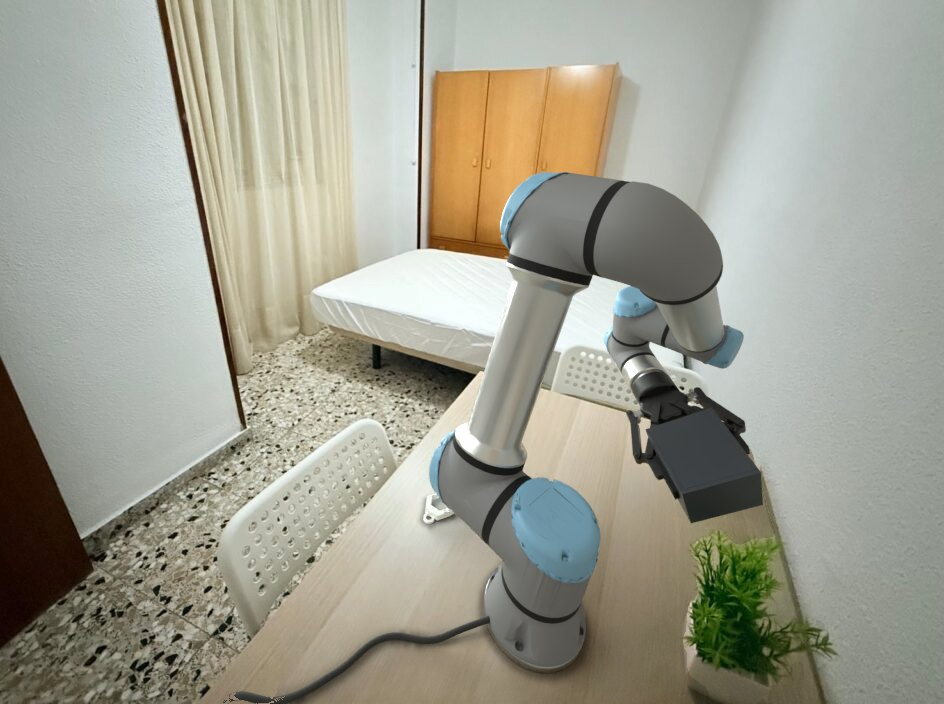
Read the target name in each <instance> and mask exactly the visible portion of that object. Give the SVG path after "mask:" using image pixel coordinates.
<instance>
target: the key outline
mask: <svg viewBox="0 0 944 704" xmlns="http://www.w3.org/2000/svg"><path fill="white" fill-rule="evenodd" d="M438 499H440V497H439V496H438V495H437V494H436V493H435V492H434V493H430V494H428V495H427V496H426V501H425V507H424V514H423V516H422V517H423V518H422V520H423V522H424V523H425V524H427V525H431V524H433V523H434V522H435V521H440V520H443V519H446V518H448V517H451V516H452V515H454V514H455V513H454V512H453V511H452V510H451V509H449V508H448V507H446V508H444V509H440V510H439V509H438V508H436V507H435V506H433V505H432V502H433V501H434V500H438ZM455 515H456V514H455ZM428 517H430V518H431V519H427V518H428Z"/></svg>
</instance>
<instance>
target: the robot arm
mask: <svg viewBox="0 0 944 704" xmlns="http://www.w3.org/2000/svg"><path fill="white" fill-rule="evenodd" d="M499 233H501V235H500V239H501V242H502V244H503V245H504V247H505V248H506V249H507V250H508V251H509V253H508V256H507V260H506V263H505V265H506V267H507V269H508V270H509V272H510V274H511V276H512V280H511V284H510V287H509V289H508V293H507V297H506V300H505V303H504V306H503V310H502V313H501V317H500V319H499V322H498V326H497V328H496V332H495V334H494V335H495V336H494V338H493V342H492V345H491V347H490V352H489V355H488V358H487V362H486V364H485V368H484V371H483V374H482V377H481V380H480V384H479V387H478V390H477V393H476V396H475V400H474V403H473V407H472V409H471V413H470V416H469V419H468V421H466V422H463V423H461V424H459V425H458V426H457V428H456V429H454V430H451V431H450V432H449V433H447V434H446V435H445V436H444V437H443V438H442V439H441V440H440V445H439V446H436V448H435V449H434V451H433V453H432V456H431V459H430V462H429V467H428V479H429V483H430V484H429V485H430V487H431V488H432V490H433V492H434V493H436V494H437V495H438V496H439V497H440V498H439V499H440V501H441V502H442V503H443V505H445V506H446V508H449V509H451V510H452V511H453V512H454V513H455V515H456V516H457V517H458V518H459V519H460V520H461V521H462V522H463V523H464V524H465V525H467V527H468V528H469V529H471V531H473V532H474V533H475V535H477V536H478V537H479V538H480V539H481V540H482V542H484V543H485V544H486V545H487V546H488V547H489V548H490V549H491V550H492V551H493V552H494V553H495V554H496V555H497V556H498V557H499V558H500V559H501V561H502V562H501V563H500V564H499V565H498V566H497V567H496V568H495V570H494V571H493V572H492V573H491V575H490V577H489V579H488V581H487V583H486V586H485V591H484V598H483V617H480V618H478V619H475V620H473V621H469V622H466V623H464V624H462V625H459V626H457V627H455V628H452V629H450V630H448V631H445V632H444V633H440V634H438V635H437V634H436V635H432V636H420V635H415V634H411V633H405V632H395V631H394V632H388V633H383V634H381V635H378V636H376V637H373V638H372V639H371V640H369V641H367V642H366V643H365V644H364V645H362V646H361V647H360V648H359V649H358V650H357V651H356V652H354V653H353V654H352V655H351V656H350V657H349V658H347V660H345V661H344V662H343V663H342V664H340V665H338V666H337V667H336V668H334V669H333V670H331V671H330V672H328V673H326V674H325V675H323V676H322V677H319V678H318V679H316V680H315V681H313V682H311V683H310V684H308V685H306V686H305V687H302V688H301V689H298V690H296V691H293V692H290V693H287V694H283V695H280V696H279V695H278V696H272V697H273V699H271V698H270V697H271V696H267V695H261V694H257V693H254V692H251V691H250V692H249V691H244V690H243V691H242V690H239V692H238V691H235V692H236V694H235V695H234V696H235V697H236V698H238V699H239V700H238V701H242V700H244V702H247V701H248V703H251V704H256V703H257V704H258V703H269V702H271V701H274V703H270V704H288V703H289V704H290V703H292V702H294V701H297V700H300V699H302V698H304V697H306V696H308V695H310V694H311V693H313V692H315V691H316V690H318V689H320V688H321V687H323V686H324V685H326V684H328V683H329V682H331V681H332V680H334V679H335V678H337V677H338V676H340V675H342V674H343V673H344V672H346V671H347V670H348V669H349V668H350V667H352V666H353V665H354V664H355V663H357V662H358V660H359V659H360V658H361V657H363V655H365V654H366V653H367V652H369V650H371V649H373V648H374V647H376V646H377V645H379V644H382V643H384V642H388V641H403V642H409V643H414V644H418V645H419V644H420V645H433V644H439V643H443V642H445V641H447V640H450V639H452V638H454V637H457V636H459V635H460V634H462V633H463V634H464V633H466V632H468V631H471V630H473V629H476V628H479V627H482V626H485V625H486V627H487V630H488V632H489V634H490V636H491V638H492V639H493V641H494V643H495V645H496V646H497V647H498V648H499V650H500V651H501V652H502V653H503V654H504V655H505V656H506V657H507V658H508V659H509V660H510V661H512V662H514V663H515V664H516V665H518V666H519V667H522V668H524V669H526V670H528V671H532V672H535V673H541V674H551V673H556V672H557V673H558V672H560V671H563V670H565V669H566V668H567V667H569V666H570V665H571V664H572V663H574V661H575V660H576V659H577V657H578V656H579V654H580V653H581V651H582V648H583V644H584V641H585V638H586V633H587V632H586V631H587V618H586V612H585V606H584V601H583V600H584V597H585V594H586V591H587V589H588V585H589V583H590V580H591V578H592V574H593V573H594V571H595V569H596V567H597V562H598V559H599V558H598V556H599V549H600V546H601V528H600V526H599V523H598V518H597V516H596V514H595V511H594V510H593V508H592V506H591V504H590V503H589V502H588V501H587V500H586V499H585V497H584V496H583V495H582V494H581V493H579V491H577V490H576V489H575V488H573V487H572V486H570V485H568V484H566V483H565V482H563V481H560V480H558V479H553V480H549V478H548V477H534V478H532V477H531V476H530V475H528V474H527V473H526V472H524V467H525V465H526V462H527V459H528V451H527V448H526V447H525V445H524V443H523V439H524V436H525V433H526V430H527V428H528V425H529V422H530V419H531V416H532V414H533V410H534V408H535V406H536V403H537V399H538V397H539V394H540V391H541V388H542V385H543V382H544V379H545V377H546V374H547V371H548V368H549V365H550V362H551V360H552V357H553V355H554V352H555V349H556V345H557V343H558V340H559V337H560V334H561V331H562V329H563V325H564V323H565V320H566V317H567V314H568V311H569V309H570V306H571V304H572V300H573V298H574V296H576V294H578V293H580V292H582V291H584V290H587V289H588V288H590V285H591V282H592V279H593V276H595V277H599V278H601V279H607V280H610V281H614V282H617V283H621V284H623V285H627V286H626V287H624V288H621V290H619V291H618V292H617V294H616V296H615V301H614V307H613V309H612V313H613V318H612V326H611V327H609V329H608V330H607V332H606V333H605V334H604V336H603V342H604V346H605V348H606V351H607V352H608V354H609V356H610V357H611V358H612V360H613V361H614V364H615V365H616V367H617V369H618V370H619V372H620V373H621V375H622V377H623V379H624V380H625V382H626V384H627V386H628V388H629V389H630V390H631V392H632V393H631V394H633V396H634V399H636V402H637V403H638V405H639V406H640V407H639V409H637V410H635V411H633V410H630V409H629V410H626V412H625V414H626V416H627V419H628V422H629V423H630V424H629V425H630V435H631V450H632V456H633V459H634V461H635V464H637V465H642V464H647V465H648V467H649V468H650V469H651V471H652V473H653V476H654V477H655V479H656V480H658V481H660V480H664V482H665V483H666V485H667V487H668V489H669V491H670V492H671V495H672V497H673V498H674V500H678V499H679V498H680V497H679V494H678V491H677V489H676V487H675V485H674V484H673V482H672V480H671V478H670V476H669V474H668V473H667V471H666V469H665V467H664V465H663V464H662V462H661V460H660V458H659V456H658V455H657V456H656V453H655V450H654V448H653V446H652V444H651V442H650V440H649V438H648V437H647V440H646V446H645V450H644V452H643V447H642V437H641V428H640V425H639V424H641V422H642V418H643V417H644V418H645V419H648V420H650V421H649V422H650V425H649V428H651V427H654V426H657V425H660V424H663V423H666V422H669V421H672V420H675V419H679V418H682V417H685V416H688V415H691V414H694V413H697V412H700V411H698V410H696V409H694V408H693V407H692V406H690V405H688V403H689V402H693V404H697V405H700V406H702V407H703V408H705V409H709V408H712V409H713V410H714V411H715V413H716V414H717V415H718V417H719V418H720V419H721V420H722V422H723V423H724V424H725V426H726V427H727V428H728V430H729V431H730V432H731V434H732V435H733V436H734V438H735V439H736V440H737V441H738V443H739V444H740V445H741V447H742V448H743V449H744V451H745V452H746V453H747V455H748V456H749V455H750V454H751V451H750V446H749V444H747V442H746V441H745V439H744V438H743V437H742V435H741V434H744V433H746V432H747V429H746V428H747V427H746V421H745V420H744V419H743V418H741V417H739V416H738V415H737V414H735V413H733V412H732V411H731V410H729V409H727V408H726V407H724V406H723V405H721V404H719V402H717V401H715V400H713V399H712V398H711V397H709V396H707V394H706V393H705V392H704V391H703V389H702V388H701V387H698V386H697V387H696V386H695V387H694V388H693V390H692V391H691V392H688V393H684V392H683V391H681V390H680V389H679V388H678V386H677V385H676V384H675V382H674V381H673V379H672V378H671V376H670V375H669V374H668V372H667V371H666V369H665V368H664V367H663V365H662V364H661V362H660V361H659V359H658V358H657V357H656V355H655V354H654V352H653V351H652V349H651V347H650V343H652V344H655V345H657V346H660V347H663V348H665V349H668V350H670V351H674V352H676V353H678V354H680V355H683V356H686V357H688V358H691V359H692V360H693V359H694V360H696V361H698V362H701V363H702V364H703V365H709V366H711V367H715V368H718V369H721V370H723V369H727V368H729V367H730V366H731V365H732V364H733V362H734V361H735V359H736V358H737V355H738V354H739V352H740V350H741V347H742V345H743V342H744V338H745V335H744V332H743V331H741V330H739V329H736V328H734V327H731V326H730V325H728V324H726V325H725V324H724V322H723V317H722V310H721V305H720V299H719V293H718V287H717V286H718V284H719V282H720V280H721V278H722V276H723V271H724V261H723V254H722V249H721V247H720V244H719V242H718V240H717V238H716V236H715V234H714V232H713V231H712V230H711V228H710V227H709V226H708V224H707V223H706V222H705V221H704V220H703V218H702V217H701V216H700V215H699V214H698V213H697V212H696V211H695V210H694V209H693V208H692V207H690V206H689V204H688V203H686V202H684V201H683V200H682V199H680V197H678V196H677V195H675V194H673V193H671V192H670V191H668V190H666V189H664V188H661V187H659V186H656V185H654V184H650V183H647V182H640V181H627V180H622V179H616V178H615V179H614V178H608V177H603V176H602V177H601V176H594V175H588V174H581V173H574V172H568V171H562V172H551V171H549V172H548V171H543V172H537V173H535V174H532V175H530V176H528V177H527V178H526V180H524V181H522V182H521V183H520V184H518V185H517V187H516V188H515V189H514V190H513V192H512V193H511V194H510V196H509V198H508V199H507V202H506V203H505V205H504V208H503V211H502V214H501V218H500V222H499ZM232 693H233V692H232ZM232 693H230V694H228V695H229V697H230V695H231V694H232ZM266 696H267V697H266ZM284 696H285V697H284ZM278 697H281V698H282V697H284V698H282V699H283V700H282V699H281V698H278ZM276 698H278V700H279V699H280V700H279V701H278V700H277V699H276ZM229 699H230V698H229ZM274 699H276V700H277V702H276V701H275V700H274ZM223 700H224V699H223ZM223 700H222V703H223V704H224V703H225V702H226V701H227V700H226V701H225V700H224V701H225V702H224V701H223ZM230 700H231V701H230ZM230 700H229V701H230V703H232V702H235V701H237V700H233V699H230Z"/></svg>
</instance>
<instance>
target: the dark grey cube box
mask: <svg viewBox="0 0 944 704" xmlns="http://www.w3.org/2000/svg"><path fill="white" fill-rule="evenodd" d="M645 432H646V435H647V439H648V438H649V440H650V442H651V444H652V446H653V448H654V450H655V453H656V456H657V455H658V456H659V458H660V460H661V462H662V464H663V465H664V467H665V469H666V471H667V473H668V474H669V476H670V478H671V480H672V482H673V484H674V485H675V487H676V489H677V491H678V494H679V497H680V498H679V499H677V501H678V503H679V504H680V506H681V508H682V510H683V512H684V514H685V515H686V517H687V519H688V521H689V522H690V524H695V523H698V522H702V521H706V520H711V519H714V518H718V517H722V516H725V515H729V514H734V513H737V512H740V511H741V512H742V511H746V510H749V509H753V508H757V507H760V506H763V505H764V503H763V502H764V500H763V483H762V482H763V481H762V471H761V470H760V469H759V468H758V466H757V465H756V464H755V462H754V461H753V460H752V458H751V457H750V456H749V454H748V455H747V453H746V452H745V451H744V449H743V448H742V447H741V445H740V444H739V443H738V441H737V440H736V439H735V438H734V436H733V435H732V434H731V432H730V431H729V430H728V428H727V427H726V426H725V424H724V423H723V422H722V420H721V419H720V418H719V417H718V415H717V414H716V413H715V411H714V410H713V409H712V408H709V409H706V410H703V411H700V412H697V413H694V414H691V415H688V416H685V417H682V418H679V419H675V420H672V421H669V422H666V423H663V424H660V425H657V426H654V427H651V428H650V427H649V428H646V429H645Z"/></svg>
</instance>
